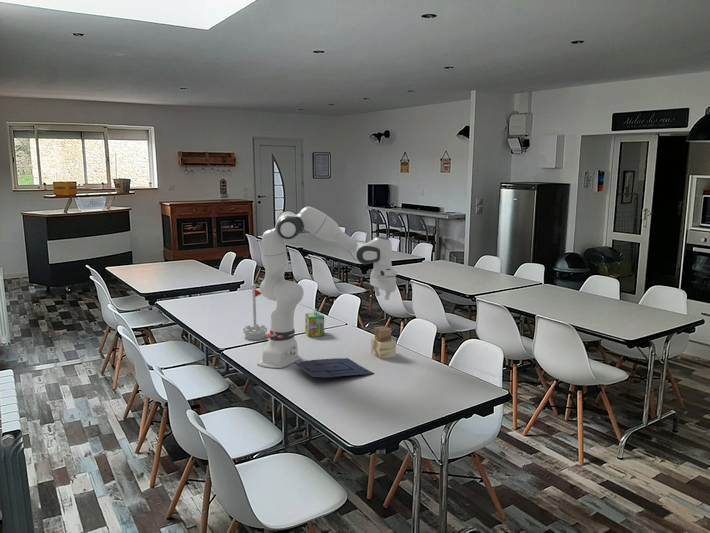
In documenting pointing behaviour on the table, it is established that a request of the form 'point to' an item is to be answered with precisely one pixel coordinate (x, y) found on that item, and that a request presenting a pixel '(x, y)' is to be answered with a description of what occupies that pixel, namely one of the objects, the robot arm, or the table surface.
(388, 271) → the robot arm
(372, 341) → the beech block
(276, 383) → the table surface
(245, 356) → the table surface
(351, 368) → the folded navy cloth
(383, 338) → the walnut cube
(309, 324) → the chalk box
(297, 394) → the table surface
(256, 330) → the flag stand
